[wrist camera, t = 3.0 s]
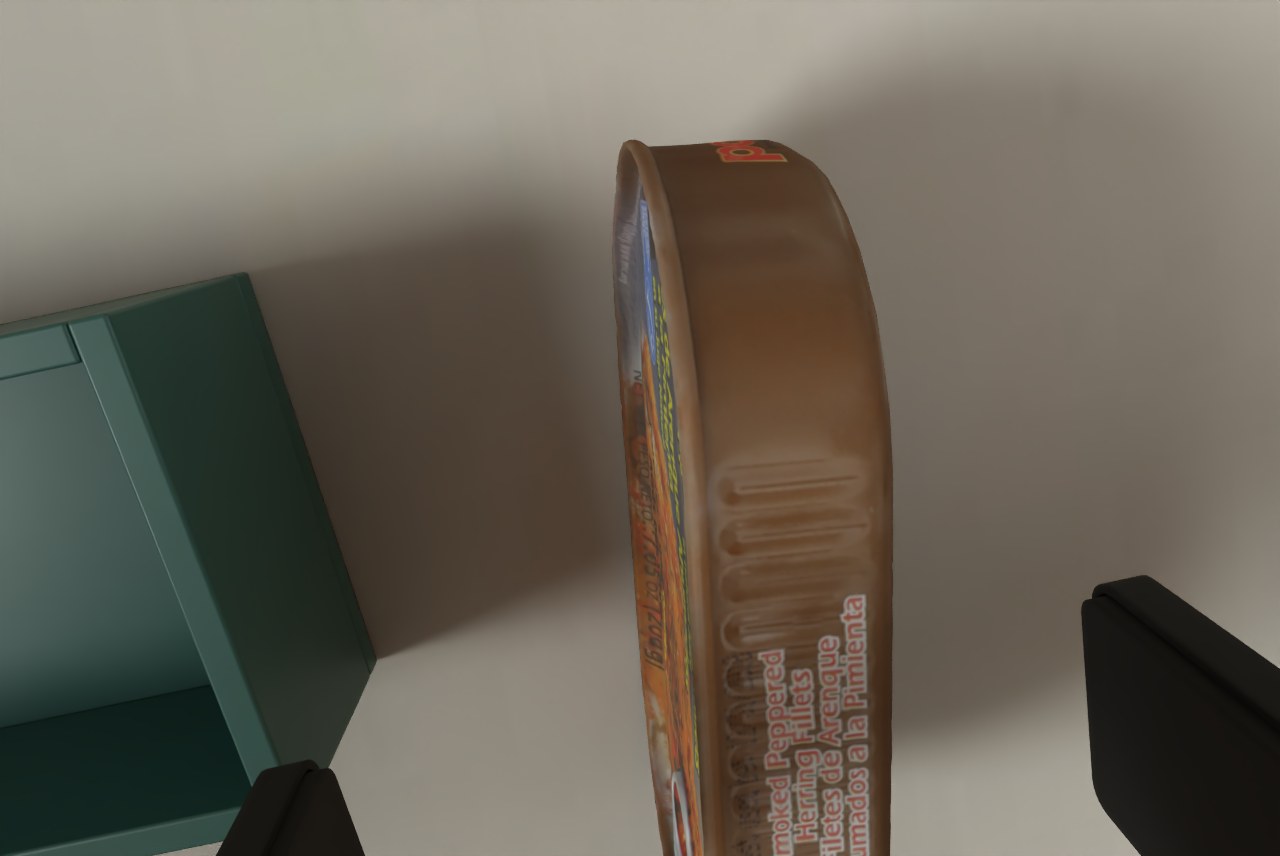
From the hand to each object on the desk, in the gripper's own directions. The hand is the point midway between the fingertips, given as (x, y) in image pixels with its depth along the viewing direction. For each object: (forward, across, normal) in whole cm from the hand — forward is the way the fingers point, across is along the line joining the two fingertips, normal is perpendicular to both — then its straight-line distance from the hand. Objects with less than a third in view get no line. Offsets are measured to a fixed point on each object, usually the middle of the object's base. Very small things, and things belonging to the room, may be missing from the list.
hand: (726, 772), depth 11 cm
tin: (+8, -1, 0) cm, 9 cm away
